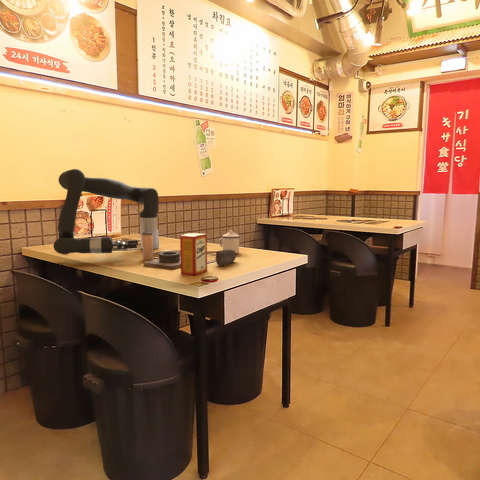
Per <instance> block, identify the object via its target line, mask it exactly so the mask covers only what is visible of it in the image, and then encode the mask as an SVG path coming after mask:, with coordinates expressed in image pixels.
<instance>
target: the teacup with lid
mask: <svg viewBox="0 0 480 480" xmlns="http://www.w3.org/2000/svg"><path fill="white" fill-rule="evenodd" d="M221 241H222V242H221ZM218 245H219V247H221V248H222V250H227V249H230V250H234V251H235V253H237V254H239V253H240V235H239V234H238V233H236V232H233V230H232V229H230V230H228V232H227V233H225V234H223V235H222V236H221V237H220V238H219V240H218Z"/></svg>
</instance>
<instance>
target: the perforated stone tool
mask: <svg viewBox="0 0 480 480" xmlns="http://www.w3.org/2000/svg"><path fill="white" fill-rule="evenodd" d="M236 258H237V254H236V253H235V251H234V250H230V249H227V250H223V249H221V250H217V251H216V252H215V258H214V259H215V262H216V265H217V266H220V267H222V266H227V265H230V264H233V263H234V261H236Z"/></svg>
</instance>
